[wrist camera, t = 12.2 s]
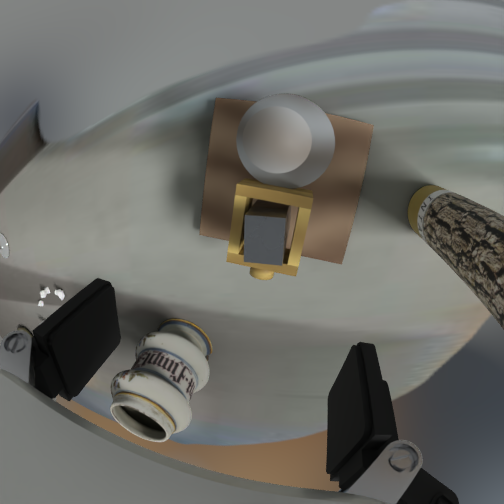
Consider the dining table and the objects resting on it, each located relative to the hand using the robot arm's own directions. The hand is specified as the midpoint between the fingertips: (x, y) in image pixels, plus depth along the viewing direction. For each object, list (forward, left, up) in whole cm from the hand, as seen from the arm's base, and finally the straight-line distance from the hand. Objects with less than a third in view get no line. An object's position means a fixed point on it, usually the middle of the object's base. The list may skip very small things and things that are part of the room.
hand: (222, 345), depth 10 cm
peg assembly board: (-3, 0, -26) cm, 26 cm away
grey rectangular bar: (+1, 0, -25) cm, 25 cm away
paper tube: (-3, +19, -26) cm, 32 cm away
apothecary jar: (+26, -11, -26) cm, 39 cm away
